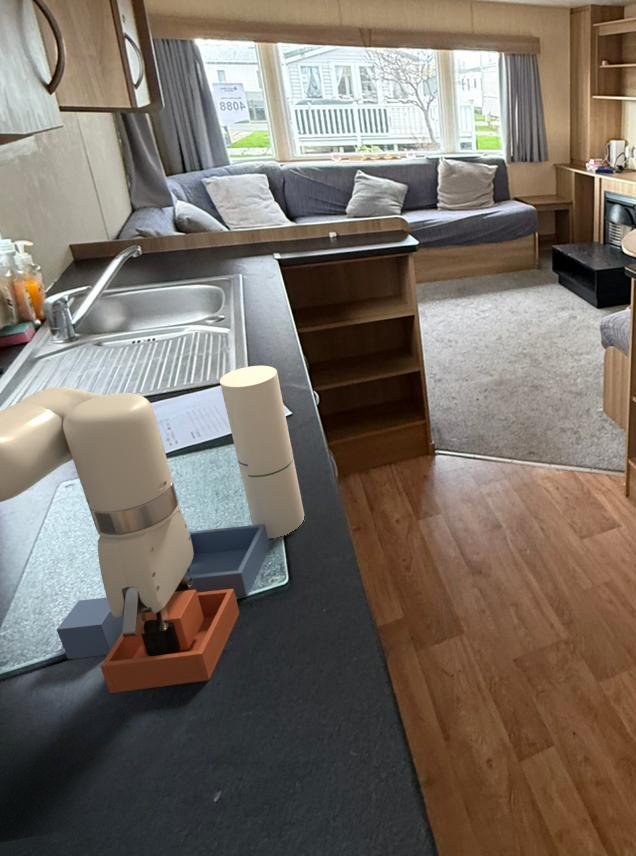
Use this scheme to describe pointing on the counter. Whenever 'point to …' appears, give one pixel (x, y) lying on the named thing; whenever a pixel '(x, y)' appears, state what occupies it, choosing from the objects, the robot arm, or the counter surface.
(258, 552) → the slate bin
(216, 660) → the terracotta bin
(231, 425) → the cylindrical container
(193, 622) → the terracotta block
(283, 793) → the counter surface
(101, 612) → the slate block
